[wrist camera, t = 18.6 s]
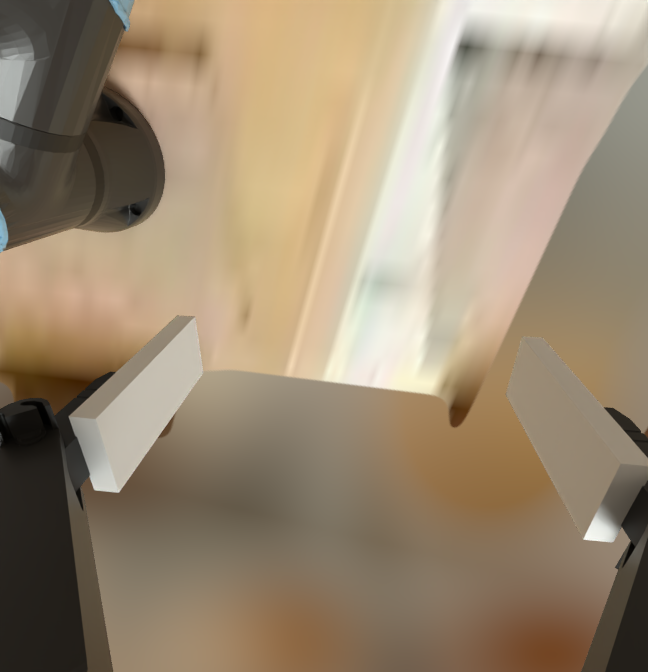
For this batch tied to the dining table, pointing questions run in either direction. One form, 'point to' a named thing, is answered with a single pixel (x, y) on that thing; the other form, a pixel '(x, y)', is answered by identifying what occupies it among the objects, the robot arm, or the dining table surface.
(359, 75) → the dining table surface
